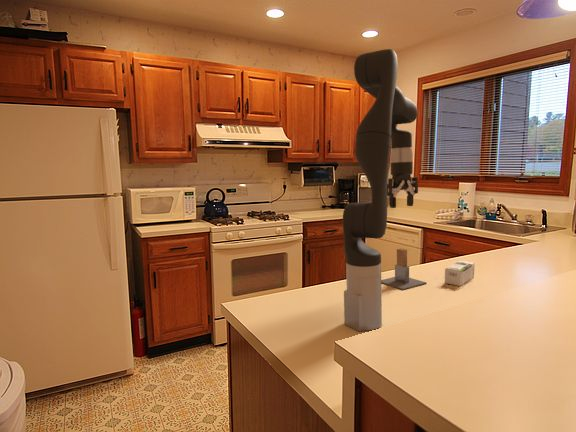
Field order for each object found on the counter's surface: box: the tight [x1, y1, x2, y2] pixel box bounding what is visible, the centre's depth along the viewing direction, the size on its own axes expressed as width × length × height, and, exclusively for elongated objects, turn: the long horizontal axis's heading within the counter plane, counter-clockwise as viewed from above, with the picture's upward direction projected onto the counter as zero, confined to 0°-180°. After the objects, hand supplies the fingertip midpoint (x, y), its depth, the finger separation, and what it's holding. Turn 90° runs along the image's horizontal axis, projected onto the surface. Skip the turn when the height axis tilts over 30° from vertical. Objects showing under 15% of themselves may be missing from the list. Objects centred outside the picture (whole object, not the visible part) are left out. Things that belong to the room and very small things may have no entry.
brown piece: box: [394, 248, 410, 284], centre depth 137 cm, size 2×5×12 cm, turn 30°
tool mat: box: [381, 276, 427, 291], centre depth 137 cm, size 12×12×1 cm
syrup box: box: [444, 260, 475, 287], centre depth 137 cm, size 6×6×14 cm
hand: (401, 206), depth 134 cm, fingers open, 8 cm apart
